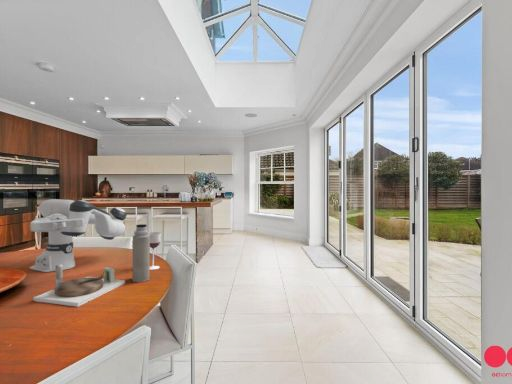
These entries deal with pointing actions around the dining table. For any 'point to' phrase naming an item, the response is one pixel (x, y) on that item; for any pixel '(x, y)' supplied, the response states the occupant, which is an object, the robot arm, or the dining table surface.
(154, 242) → the wineglass
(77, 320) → the dining table surface
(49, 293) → the stand
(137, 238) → the thermos bottle
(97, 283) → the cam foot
